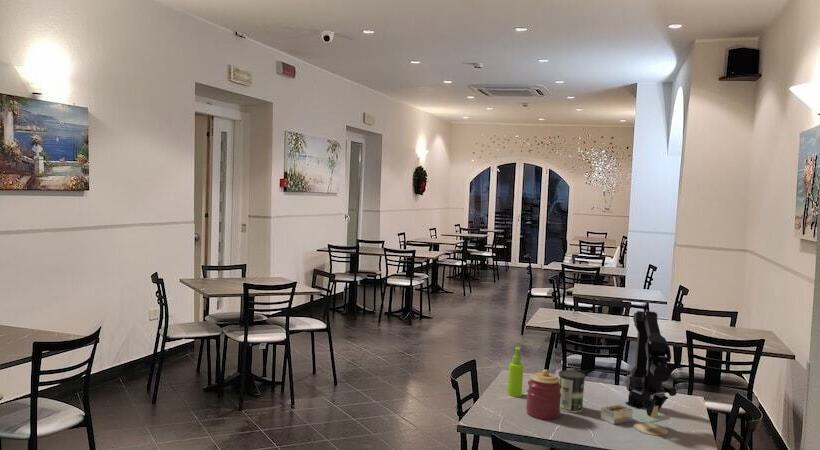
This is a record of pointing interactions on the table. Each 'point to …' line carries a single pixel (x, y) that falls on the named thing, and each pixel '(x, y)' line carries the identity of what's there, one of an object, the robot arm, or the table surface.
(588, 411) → the table surface
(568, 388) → the coffee can
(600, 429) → the table surface
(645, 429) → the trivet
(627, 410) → the tin
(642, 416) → the lid
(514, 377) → the soap dispenser
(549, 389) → the canister
